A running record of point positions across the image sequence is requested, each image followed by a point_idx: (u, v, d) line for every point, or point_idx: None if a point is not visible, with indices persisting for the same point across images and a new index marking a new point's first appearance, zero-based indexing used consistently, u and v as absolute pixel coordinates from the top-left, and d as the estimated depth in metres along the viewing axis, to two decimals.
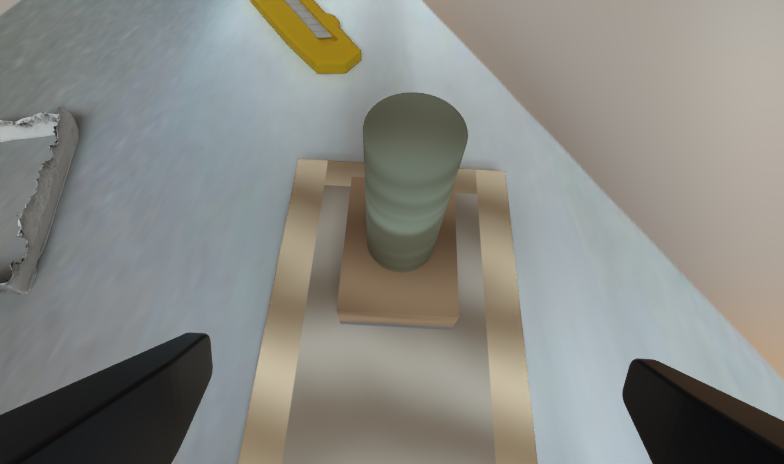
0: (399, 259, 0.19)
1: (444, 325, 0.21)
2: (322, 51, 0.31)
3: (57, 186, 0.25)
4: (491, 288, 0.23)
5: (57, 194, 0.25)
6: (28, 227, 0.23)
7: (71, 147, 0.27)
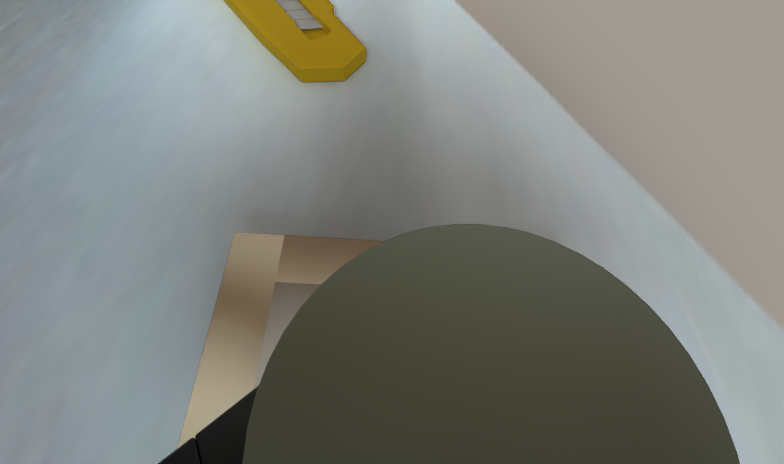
0: None
1: None
2: (308, 50, 0.21)
3: None
4: None
5: None
6: None
7: None
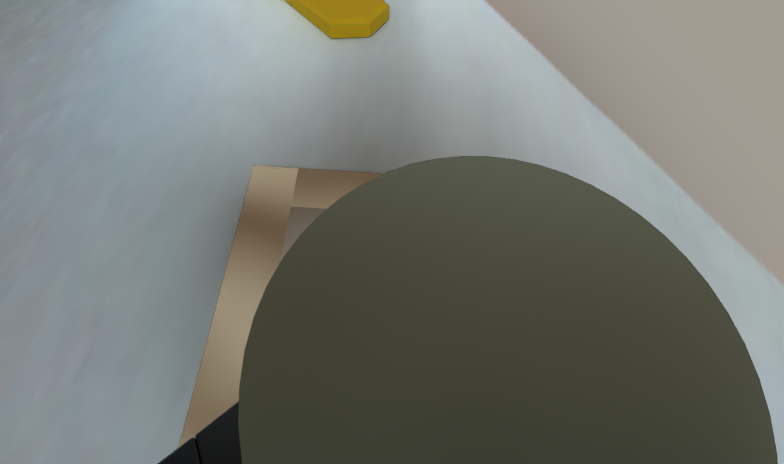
0: None
1: None
2: (337, 8, 0.23)
3: None
4: None
5: None
6: None
7: None
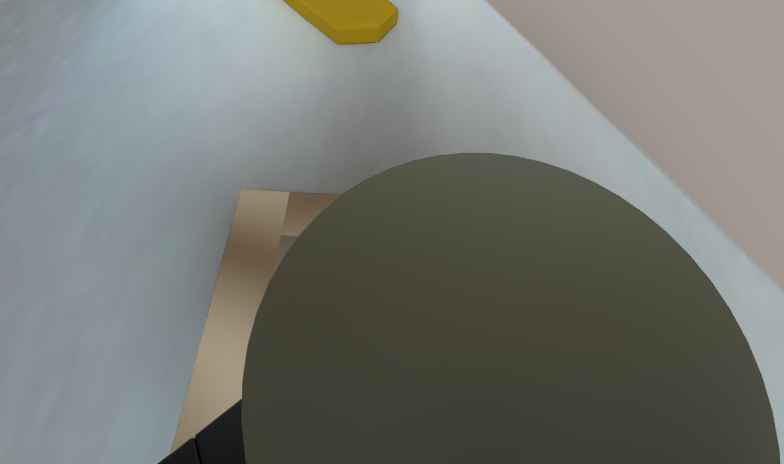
0: None
1: None
2: (343, 11, 0.21)
3: None
4: None
5: None
6: None
7: None
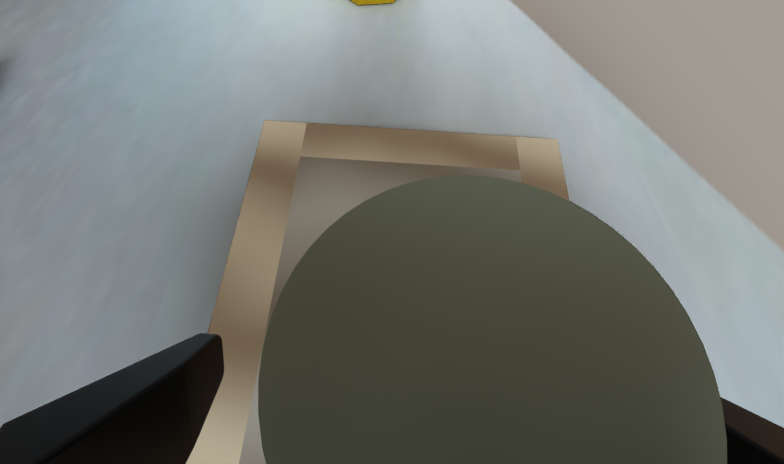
0: None
1: None
2: None
3: None
4: None
5: None
6: None
7: None
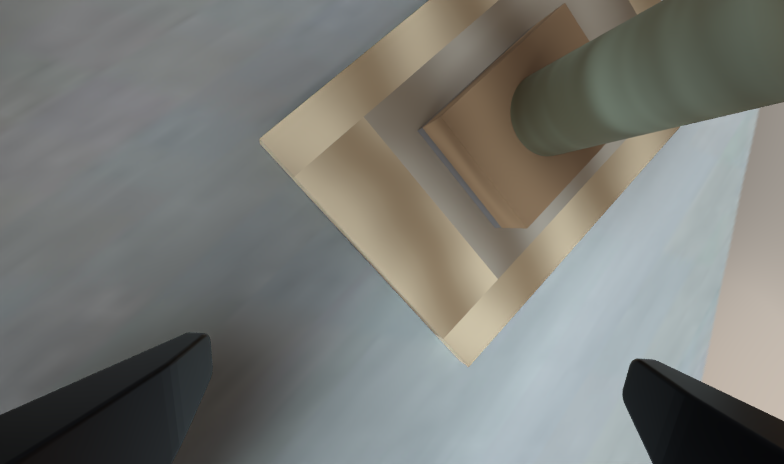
0: (543, 130, 0.15)
1: (499, 220, 0.18)
2: None
3: None
4: (615, 161, 0.21)
5: None
6: None
7: None
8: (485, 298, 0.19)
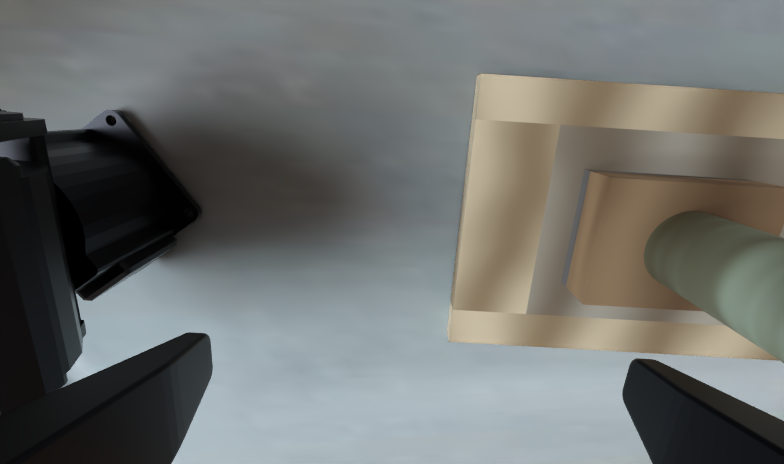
0: (669, 257, 0.16)
1: (569, 281, 0.20)
2: None
3: None
4: (695, 330, 0.22)
5: None
6: None
7: None
8: (504, 316, 0.21)
